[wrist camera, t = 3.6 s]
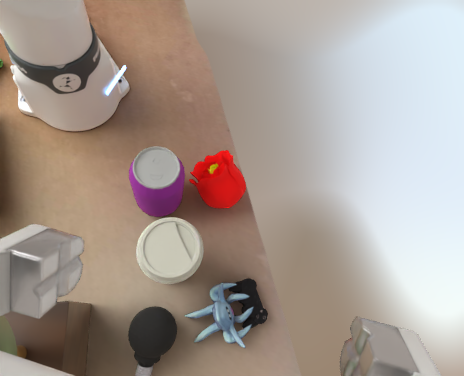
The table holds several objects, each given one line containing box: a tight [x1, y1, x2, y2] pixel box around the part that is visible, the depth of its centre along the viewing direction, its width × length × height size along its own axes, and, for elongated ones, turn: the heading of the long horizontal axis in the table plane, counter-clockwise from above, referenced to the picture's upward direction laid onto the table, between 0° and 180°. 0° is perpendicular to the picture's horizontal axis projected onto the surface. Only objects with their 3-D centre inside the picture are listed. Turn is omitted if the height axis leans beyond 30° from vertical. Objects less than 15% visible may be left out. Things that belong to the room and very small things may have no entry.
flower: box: [189, 150, 246, 208], centre depth 52 cm, size 8×8×8 cm
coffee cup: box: [136, 217, 204, 284], centre depth 45 cm, size 8×9×12 cm
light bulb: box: [128, 307, 177, 376], centre depth 43 cm, size 6×6×10 cm
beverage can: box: [129, 146, 185, 217], centre depth 48 cm, size 8×8×12 cm
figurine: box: [185, 279, 268, 348], centre depth 46 cm, size 10×12×8 cm
